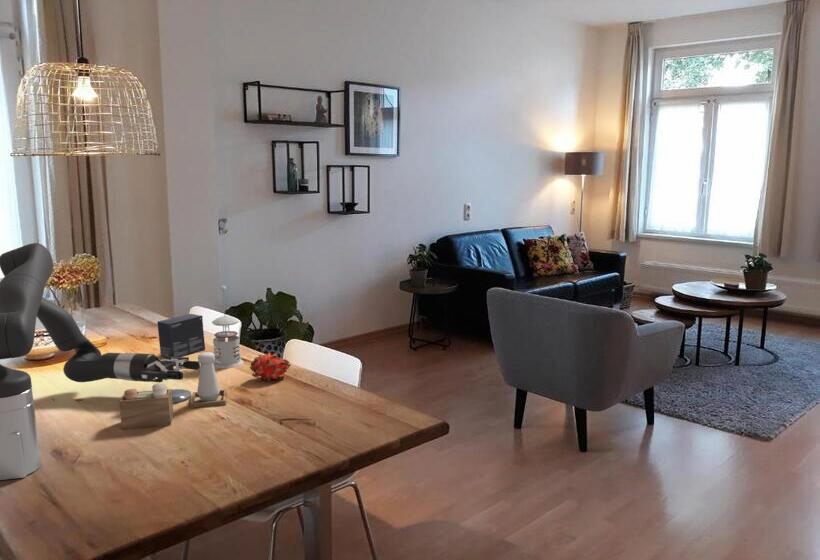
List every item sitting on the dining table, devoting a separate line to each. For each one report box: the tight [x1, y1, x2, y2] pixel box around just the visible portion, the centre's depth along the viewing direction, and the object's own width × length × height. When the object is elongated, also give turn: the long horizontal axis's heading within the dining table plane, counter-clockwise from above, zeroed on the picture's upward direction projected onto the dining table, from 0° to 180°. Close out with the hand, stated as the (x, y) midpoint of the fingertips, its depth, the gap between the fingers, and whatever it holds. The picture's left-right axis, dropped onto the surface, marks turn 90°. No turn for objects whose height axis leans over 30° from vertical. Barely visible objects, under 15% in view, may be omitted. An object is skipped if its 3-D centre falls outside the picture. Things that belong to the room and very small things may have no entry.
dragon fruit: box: [249, 352, 292, 382], centre depth 191 cm, size 8×8×12 cm
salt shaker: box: [196, 351, 221, 402], centre depth 174 cm, size 6×6×13 cm
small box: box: [156, 313, 206, 359], centre depth 217 cm, size 13×7×12 cm, turn 146°
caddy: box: [119, 382, 174, 430], centre depth 160 cm, size 6×11×9 cm, turn 103°
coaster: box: [172, 388, 192, 405], centre depth 177 cm, size 10×10×1 cm
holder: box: [189, 389, 228, 409], centre depth 175 cm, size 9×9×1 cm
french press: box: [211, 285, 244, 369], centre depth 205 cm, size 10×12×25 cm
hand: (191, 370), depth 175 cm, fingers open, 8 cm apart
